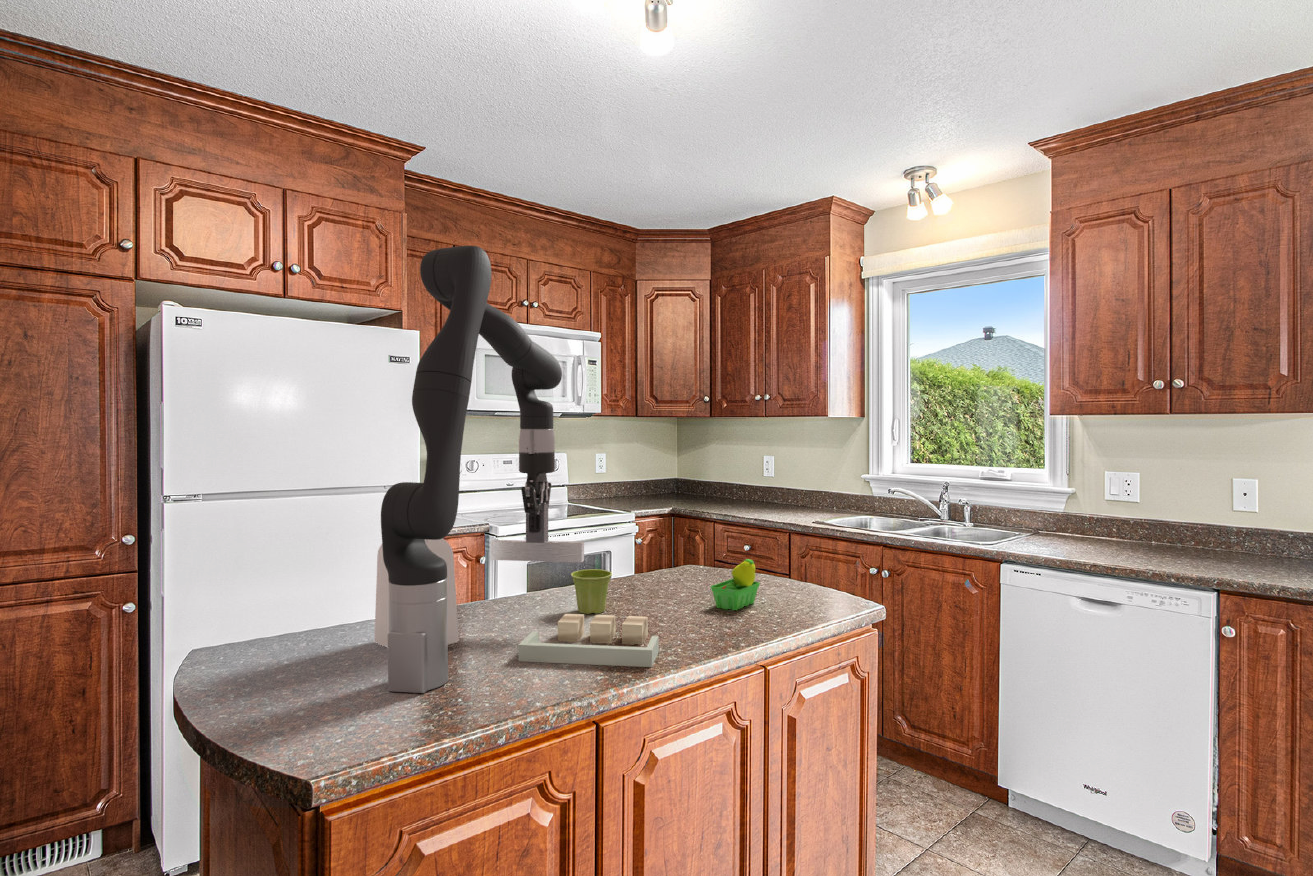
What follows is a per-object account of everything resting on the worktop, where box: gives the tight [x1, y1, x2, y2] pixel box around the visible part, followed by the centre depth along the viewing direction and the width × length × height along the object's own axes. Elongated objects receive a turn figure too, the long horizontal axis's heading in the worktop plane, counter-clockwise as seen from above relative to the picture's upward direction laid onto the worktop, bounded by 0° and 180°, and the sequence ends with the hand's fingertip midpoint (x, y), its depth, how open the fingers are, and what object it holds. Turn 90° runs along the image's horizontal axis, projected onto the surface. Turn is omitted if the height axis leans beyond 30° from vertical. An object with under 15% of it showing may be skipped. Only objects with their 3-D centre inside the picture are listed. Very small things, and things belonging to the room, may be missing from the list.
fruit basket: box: [710, 558, 761, 611], centre depth 167 cm, size 11×9×11 cm
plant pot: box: [570, 568, 613, 615], centre depth 163 cm, size 9×9×9 cm
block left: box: [557, 613, 585, 643], centre depth 143 cm, size 6×4×4 cm, turn 174°
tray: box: [517, 630, 660, 668], centre depth 131 cm, size 8×24×3 cm, turn 82°
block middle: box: [589, 614, 616, 644], centre depth 142 cm, size 6×4×4 cm, turn 174°
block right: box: [621, 615, 649, 646], centre depth 141 cm, size 6×4×4 cm, turn 170°
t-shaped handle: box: [490, 504, 585, 563], centre depth 152 cm, size 3×20×12 cm, turn 82°
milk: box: [373, 538, 460, 649], centre depth 140 cm, size 12×12×26 cm
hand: (537, 530), depth 152 cm, fingers closed on t-shaped handle, 3 cm apart
